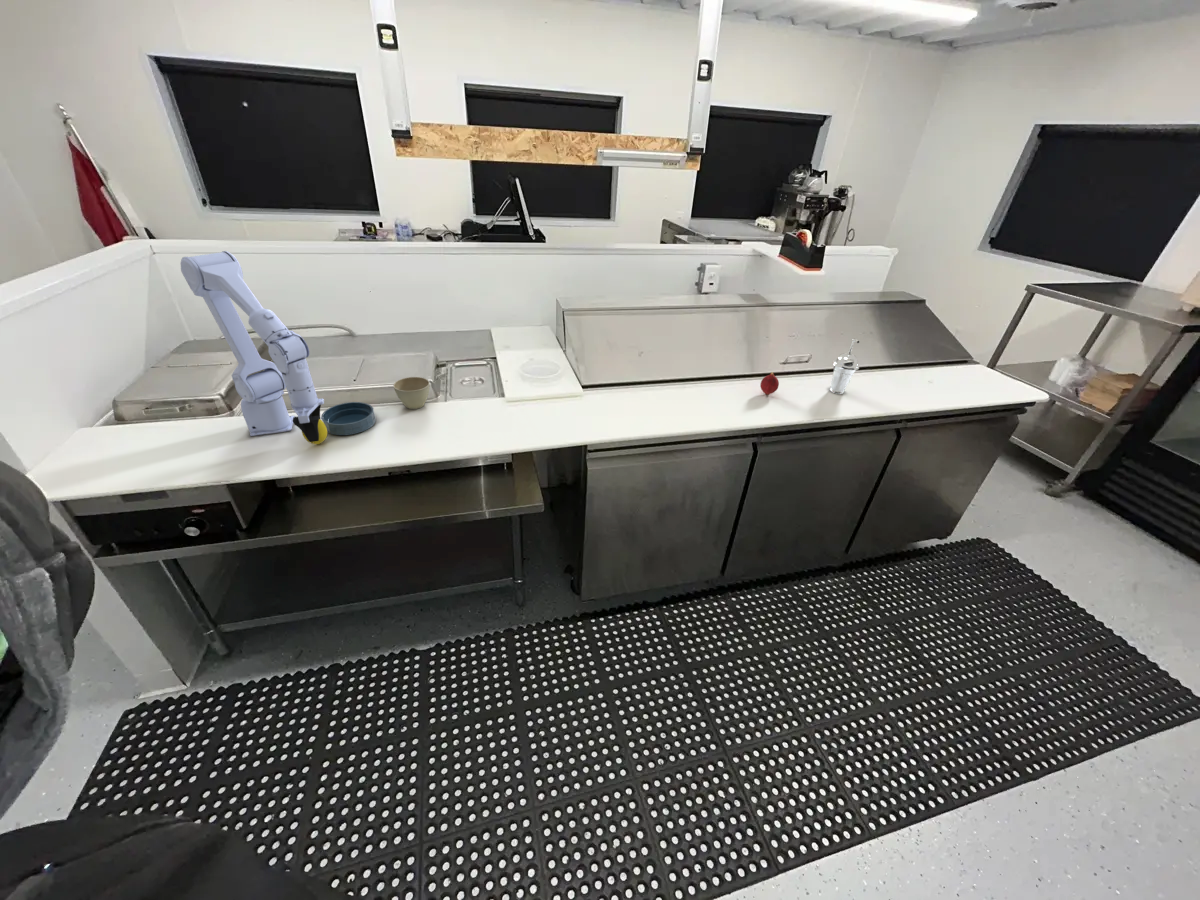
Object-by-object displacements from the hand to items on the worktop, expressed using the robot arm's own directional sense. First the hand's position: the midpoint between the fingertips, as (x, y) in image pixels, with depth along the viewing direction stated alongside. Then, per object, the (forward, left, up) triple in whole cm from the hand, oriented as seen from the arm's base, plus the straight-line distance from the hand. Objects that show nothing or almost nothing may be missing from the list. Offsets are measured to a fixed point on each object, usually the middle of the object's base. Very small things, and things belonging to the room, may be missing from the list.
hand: (315, 434), depth 124 cm
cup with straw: (+162, -15, -3) cm, 163 cm away
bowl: (+8, +8, -3) cm, 12 cm away
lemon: (0, 0, -3) cm, 3 cm away
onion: (+136, -10, -3) cm, 136 cm away
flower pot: (+25, +15, -3) cm, 29 cm away
